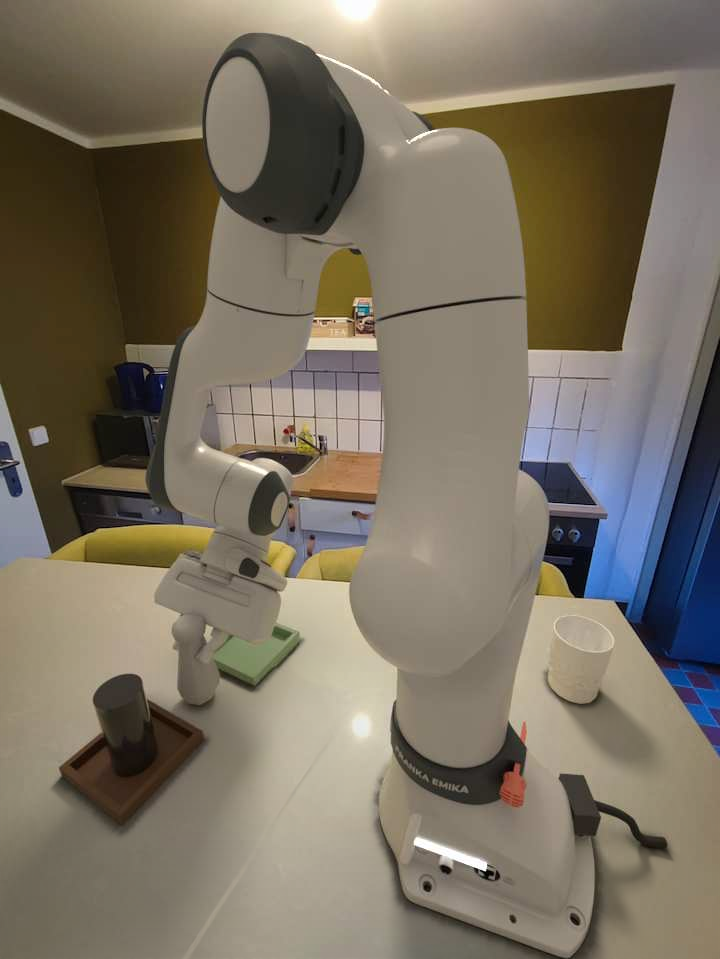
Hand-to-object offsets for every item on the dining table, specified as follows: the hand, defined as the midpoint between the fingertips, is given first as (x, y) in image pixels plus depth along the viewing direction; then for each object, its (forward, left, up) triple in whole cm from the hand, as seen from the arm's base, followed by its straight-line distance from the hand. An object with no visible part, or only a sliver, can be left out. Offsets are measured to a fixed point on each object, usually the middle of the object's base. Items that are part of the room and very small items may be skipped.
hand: (190, 656), depth 59 cm
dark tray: (0, +10, -9) cm, 13 cm away
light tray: (0, -12, -9) cm, 14 cm away
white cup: (-48, -29, -9) cm, 56 cm away
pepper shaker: (0, +10, -8) cm, 13 cm away
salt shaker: (0, -1, -8) cm, 8 cm away
